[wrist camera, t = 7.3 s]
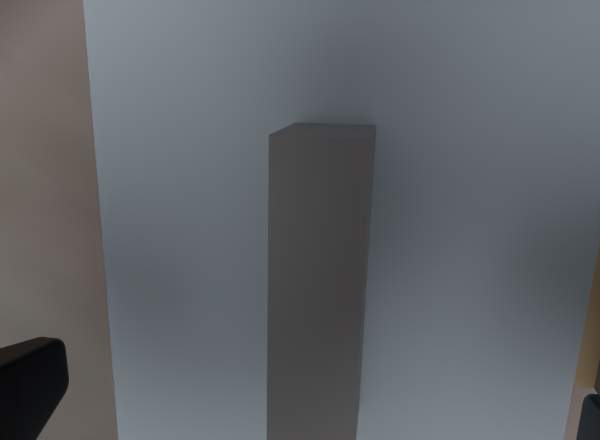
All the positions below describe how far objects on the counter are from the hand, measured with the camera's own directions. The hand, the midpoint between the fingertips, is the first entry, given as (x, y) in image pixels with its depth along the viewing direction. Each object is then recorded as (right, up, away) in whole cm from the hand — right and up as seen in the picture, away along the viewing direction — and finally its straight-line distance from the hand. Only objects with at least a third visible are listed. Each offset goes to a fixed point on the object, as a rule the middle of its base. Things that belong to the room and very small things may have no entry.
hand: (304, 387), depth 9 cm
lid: (+1, +2, +7) cm, 8 cm away
